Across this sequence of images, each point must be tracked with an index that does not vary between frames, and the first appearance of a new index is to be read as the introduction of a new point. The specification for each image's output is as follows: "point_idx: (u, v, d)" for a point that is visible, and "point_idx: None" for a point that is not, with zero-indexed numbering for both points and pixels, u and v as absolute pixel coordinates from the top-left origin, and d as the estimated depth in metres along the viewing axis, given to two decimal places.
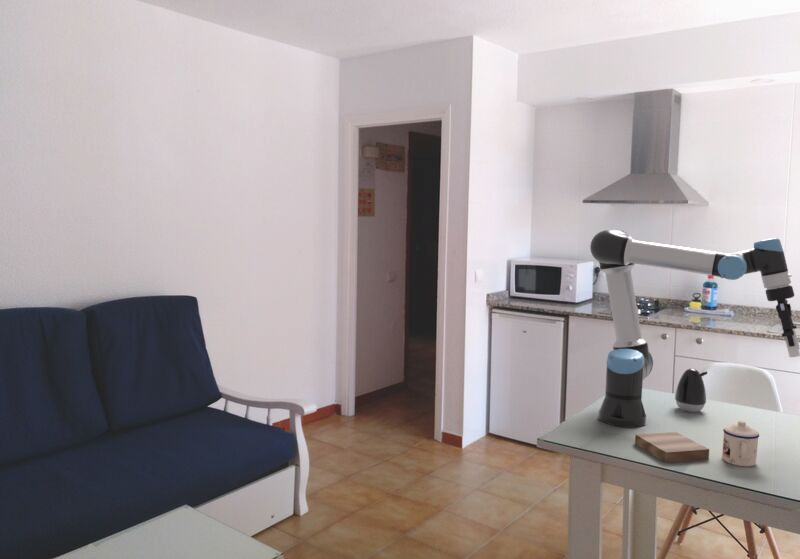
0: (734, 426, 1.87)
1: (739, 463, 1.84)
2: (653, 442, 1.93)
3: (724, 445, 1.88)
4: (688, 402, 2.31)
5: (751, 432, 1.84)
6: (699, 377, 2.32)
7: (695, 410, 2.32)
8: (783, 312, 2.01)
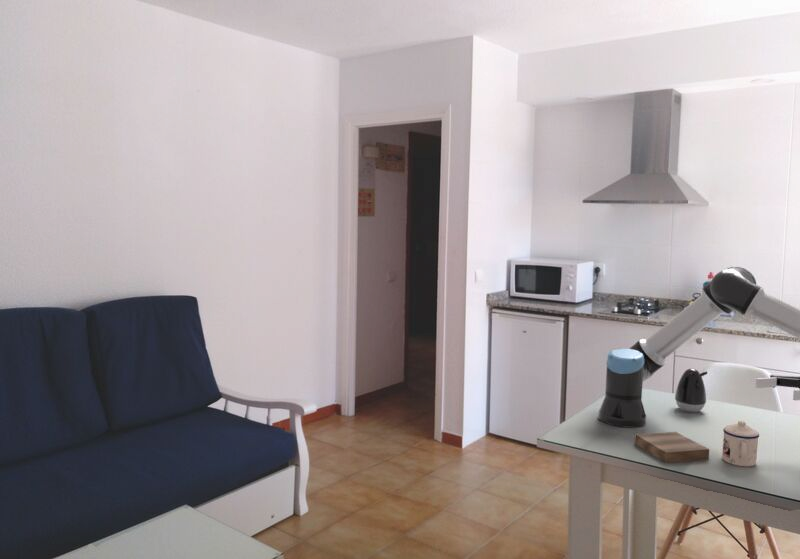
0: (734, 426, 1.87)
1: (739, 463, 1.84)
2: (653, 442, 1.93)
3: (724, 445, 1.88)
4: (688, 402, 2.31)
5: (751, 432, 1.84)
6: (699, 377, 2.32)
7: (695, 410, 2.32)
8: None
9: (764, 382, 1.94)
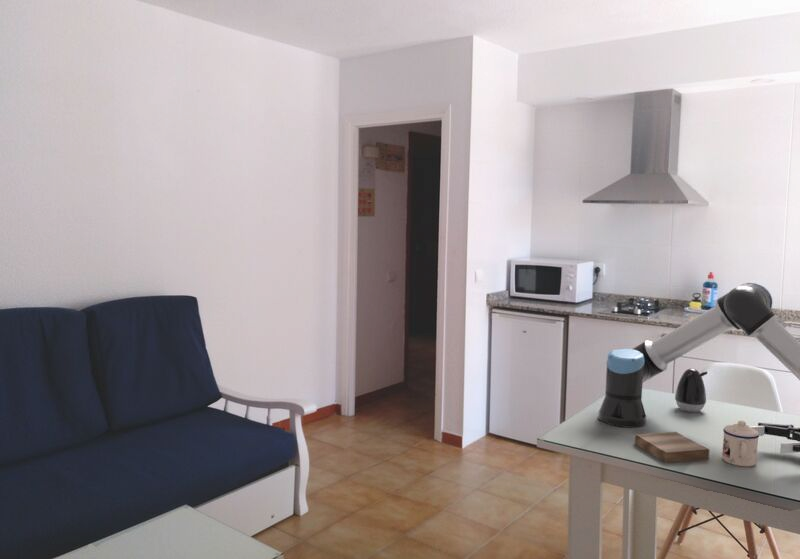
0: (734, 426, 1.87)
1: (739, 463, 1.84)
2: (653, 442, 1.93)
3: (724, 445, 1.88)
4: (688, 402, 2.31)
5: (751, 432, 1.84)
6: (699, 377, 2.32)
7: (695, 410, 2.32)
8: None
9: None
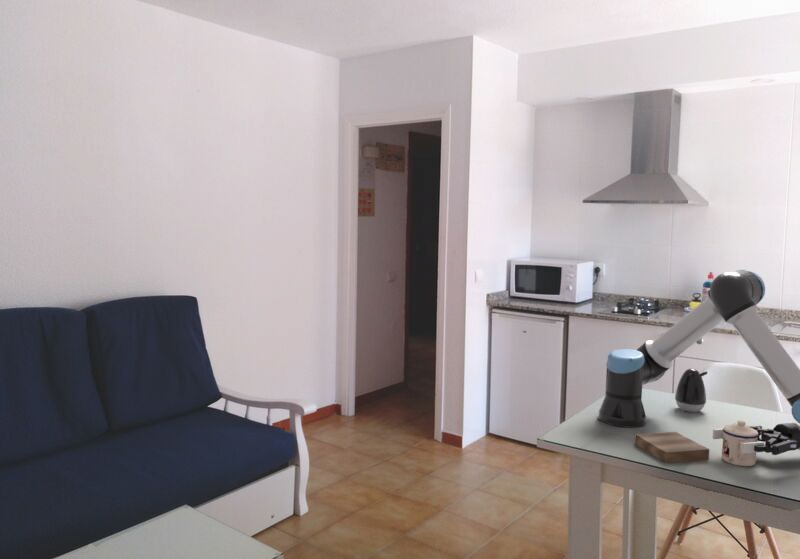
0: (733, 426, 1.87)
1: (738, 463, 1.84)
2: (653, 442, 1.93)
3: (723, 445, 1.88)
4: (688, 402, 2.31)
5: (750, 432, 1.84)
6: (699, 377, 2.32)
7: (695, 410, 2.32)
8: (789, 446, 1.82)
9: (721, 433, 1.91)
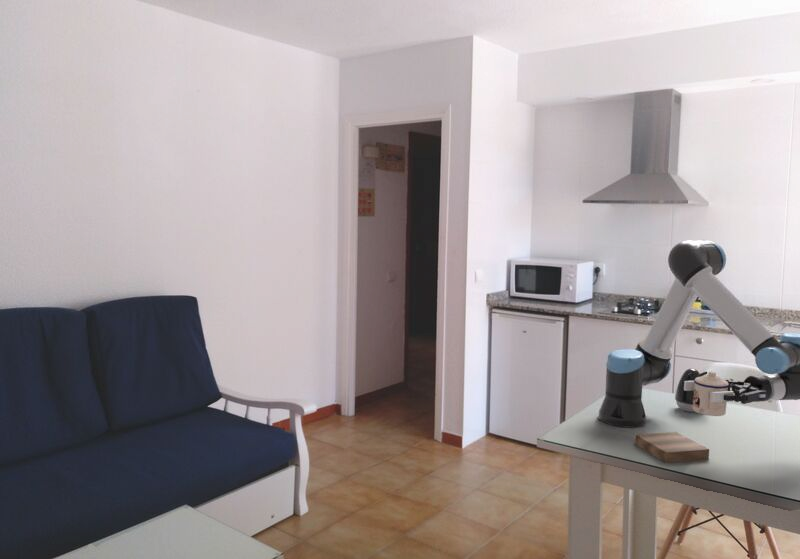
0: (704, 377, 1.88)
1: (708, 413, 1.86)
2: (653, 442, 1.93)
3: (694, 395, 1.89)
4: (688, 402, 2.31)
5: (721, 382, 1.85)
6: None
7: None
8: (758, 396, 1.83)
9: (692, 385, 1.92)
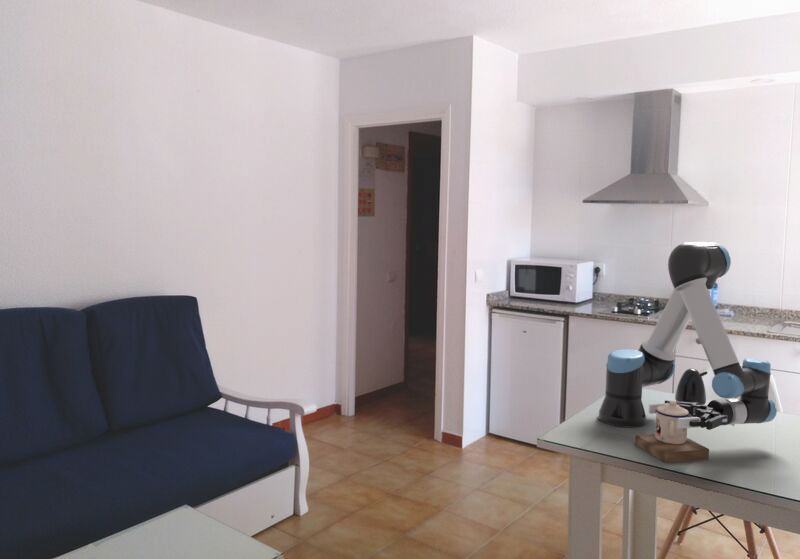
0: (665, 406, 1.95)
1: (668, 441, 1.92)
2: (653, 442, 1.93)
3: (656, 424, 1.96)
4: None
5: (680, 411, 1.92)
6: (699, 377, 2.32)
7: None
8: (721, 421, 1.89)
9: (656, 408, 1.99)
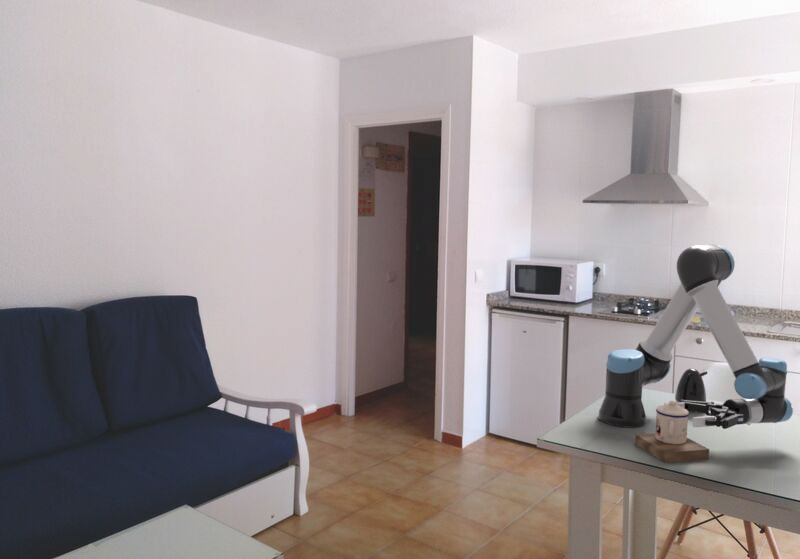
0: (665, 406, 1.95)
1: (668, 441, 1.92)
2: (653, 442, 1.93)
3: (656, 424, 1.96)
4: None
5: (680, 411, 1.92)
6: (699, 377, 2.32)
7: None
8: (737, 420, 1.89)
9: None
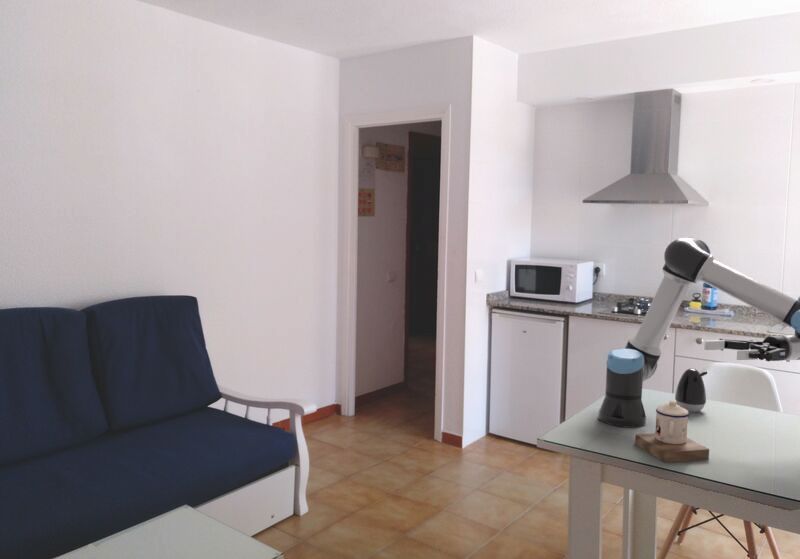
0: (665, 406, 1.95)
1: (668, 441, 1.92)
2: (653, 442, 1.93)
3: (656, 424, 1.96)
4: (688, 402, 2.31)
5: (680, 411, 1.92)
6: (699, 377, 2.32)
7: (695, 410, 2.32)
8: (779, 353, 1.91)
9: (712, 344, 2.01)
